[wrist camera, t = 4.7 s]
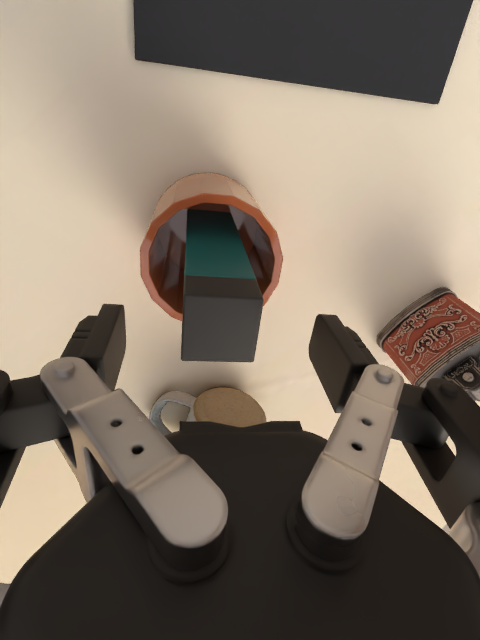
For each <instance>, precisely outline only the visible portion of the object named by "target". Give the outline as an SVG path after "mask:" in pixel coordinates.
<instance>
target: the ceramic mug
mask: <svg viewBox="0 0 480 640" xmlns="http://www.w3.org/2000/svg"><path fill="white" fill-rule="evenodd" d="M167 401H172V402H173V401H174V402H177V403H181V404H183V405H185V406H188V407H189V408H190V412H189V414H188V417H187V421H211V422H216V423H221V424H226V425H231V426H236V427H248V426H252V425H257V424H261V423H266V416H265V413H264V411H263V409H262V408H261V406H260V405H259V404H258V403H257V402H256V401H255V400H254V399H253V398H252V397H251V396H249V395H247V394H246V393H244V392H242V391H239V390H236V389H232V388H225V387H219V388H213V389H209V390H206V391H205V392H203V393H202V394H200V395H199V396H198V398H196V397H194V396H192V395H190V394H188V393H185V392H180V391H170V392H167V393H165V394H163V395H162V396H161V397H160V398H159V399H158V400H157V401H156V402H155V404H154V405H153V407H152V409H151V412H150V417H149V420H150V421H151V422H152V423H153V424H154V426H155V427H156V428H157V429H158V430H159V431H160V432H161V433H162V435H163V436H165V435H167V434H170V433H172V432H170V431H169V430H168V429H167V428H166V427H165V425H164V424H163V422H162V420H161V419H160V413H161V410H162V407H163V406H164V405H166V403H167Z"/></svg>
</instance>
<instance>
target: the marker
mask: <svg viewBox="0 0 480 640" xmlns="http://www.w3.org/2000/svg"><path fill="white" fill-rule="evenodd" d="M263 301H264V299H263V296H262V294H261V291H260V288H259V286H258V283H257V280H256V277H255V275H254V272H253V269H252V267H251V264H250V261H249V259H248V256H247V254H246V251H245V248H244V246H243V243H242V240H241V238H240V235H239V232H238V230H237V227H236V225H235V222H234V219H233V217H232V214H231V213H229V212H218V211H206V210H195V209H188V210H187V230H186V250H185V270H184V291H183V316H182V343H181V360H182V361H219V362H253V361H254V356H255V350H256V344H257V338H258V332H259V326H260V320H261V314H262V308H263Z"/></svg>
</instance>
